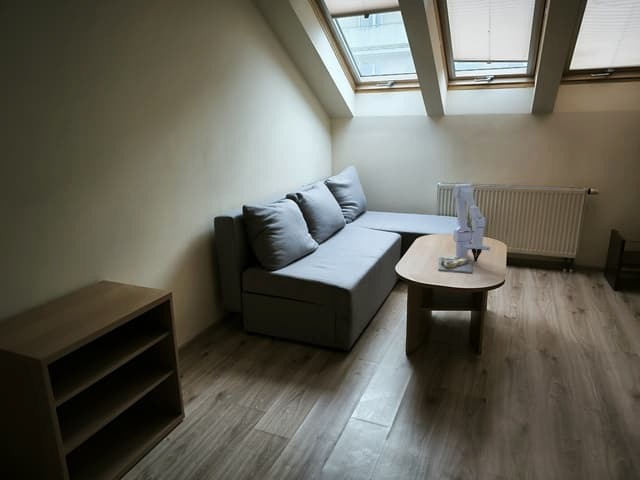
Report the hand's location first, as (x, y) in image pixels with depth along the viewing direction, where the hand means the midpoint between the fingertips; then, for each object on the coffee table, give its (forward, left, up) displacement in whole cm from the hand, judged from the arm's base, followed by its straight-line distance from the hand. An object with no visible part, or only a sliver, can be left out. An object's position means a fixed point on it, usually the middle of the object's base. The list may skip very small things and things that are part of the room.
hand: (475, 261), depth 257 cm
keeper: (+6, -16, -1) cm, 17 cm away
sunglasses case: (-40, -3, -3) cm, 40 cm away
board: (+5, -11, -2) cm, 12 cm away
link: (+6, -11, -1) cm, 12 cm away
